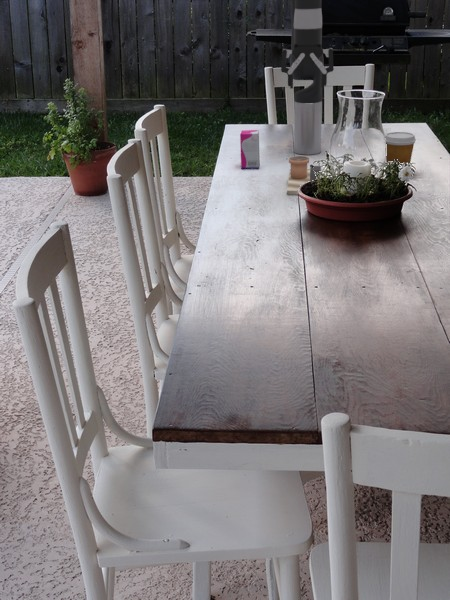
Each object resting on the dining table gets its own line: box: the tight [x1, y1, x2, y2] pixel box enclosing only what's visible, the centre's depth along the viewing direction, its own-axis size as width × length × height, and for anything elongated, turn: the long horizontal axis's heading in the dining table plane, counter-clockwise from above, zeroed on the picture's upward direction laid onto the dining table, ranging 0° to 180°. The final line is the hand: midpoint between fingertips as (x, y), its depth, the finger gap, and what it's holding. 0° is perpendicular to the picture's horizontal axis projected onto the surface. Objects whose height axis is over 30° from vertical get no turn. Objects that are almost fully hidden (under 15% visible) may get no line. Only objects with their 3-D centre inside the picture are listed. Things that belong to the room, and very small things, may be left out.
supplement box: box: [239, 129, 261, 170], centre depth 254 cm, size 6×6×12 cm
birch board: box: [286, 165, 323, 195], centre depth 236 cm, size 24×10×7 cm, turn 174°
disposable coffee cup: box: [384, 131, 417, 164], centre depth 242 cm, size 10×10×12 cm
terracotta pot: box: [288, 155, 310, 179], centre depth 239 cm, size 6×6×6 cm
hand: (307, 87), depth 220 cm, fingers open, 8 cm apart
